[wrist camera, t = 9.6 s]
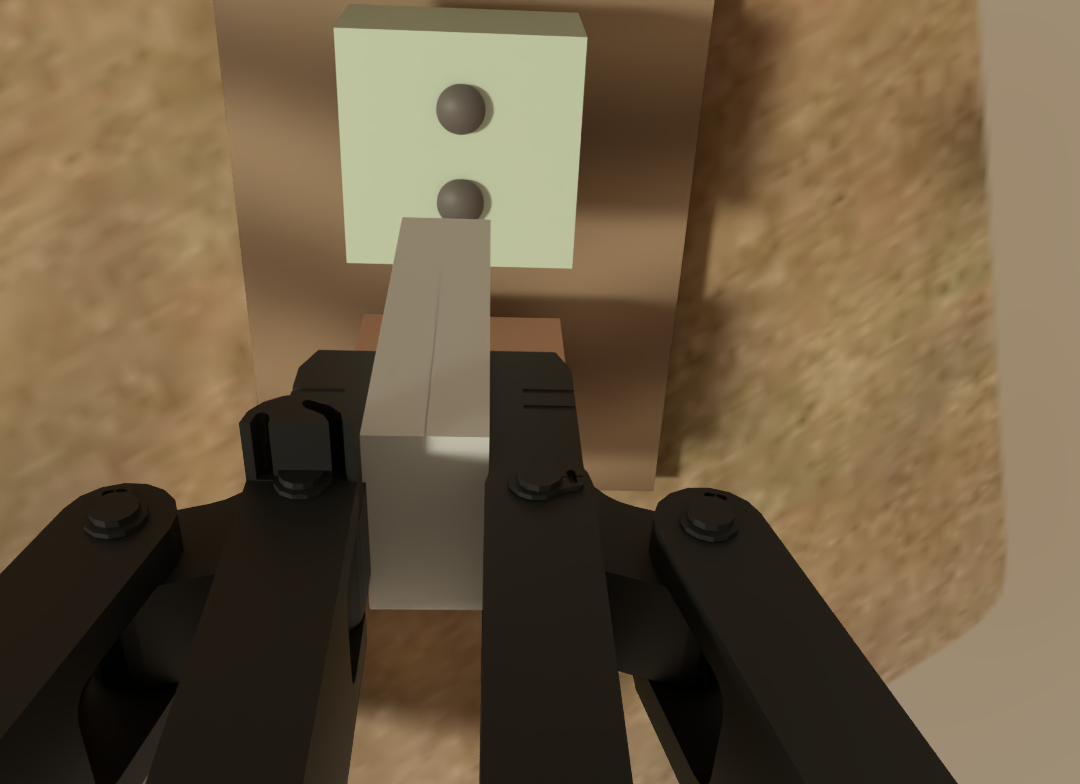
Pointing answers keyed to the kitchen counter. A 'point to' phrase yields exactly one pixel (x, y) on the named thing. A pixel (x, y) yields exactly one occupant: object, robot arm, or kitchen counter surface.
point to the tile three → (502, 334)
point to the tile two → (461, 126)
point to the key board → (569, 294)
